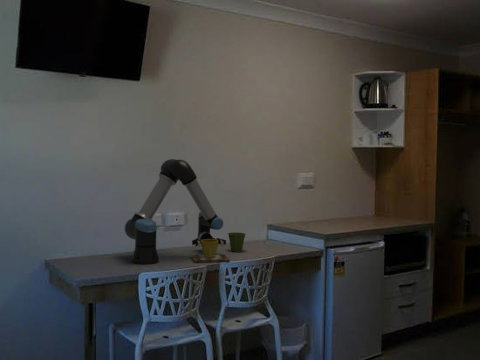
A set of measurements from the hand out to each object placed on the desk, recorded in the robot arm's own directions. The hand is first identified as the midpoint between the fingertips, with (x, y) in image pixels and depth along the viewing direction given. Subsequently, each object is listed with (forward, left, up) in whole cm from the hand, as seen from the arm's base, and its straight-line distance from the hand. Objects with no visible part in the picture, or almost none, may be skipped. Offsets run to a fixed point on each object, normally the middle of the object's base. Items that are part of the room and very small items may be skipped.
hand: (211, 244), depth 293 cm
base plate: (0, +3, -9) cm, 10 cm away
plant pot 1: (-1, +3, -8) cm, 9 cm away
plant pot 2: (+21, +30, -10) cm, 38 cm away
